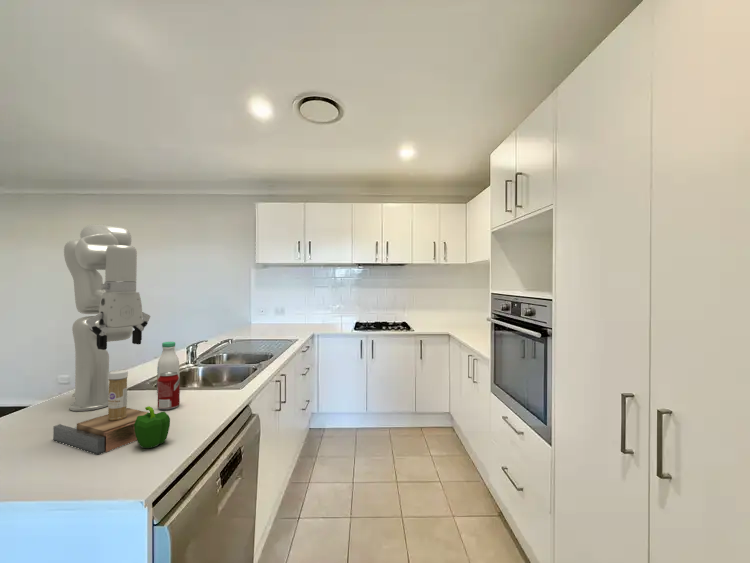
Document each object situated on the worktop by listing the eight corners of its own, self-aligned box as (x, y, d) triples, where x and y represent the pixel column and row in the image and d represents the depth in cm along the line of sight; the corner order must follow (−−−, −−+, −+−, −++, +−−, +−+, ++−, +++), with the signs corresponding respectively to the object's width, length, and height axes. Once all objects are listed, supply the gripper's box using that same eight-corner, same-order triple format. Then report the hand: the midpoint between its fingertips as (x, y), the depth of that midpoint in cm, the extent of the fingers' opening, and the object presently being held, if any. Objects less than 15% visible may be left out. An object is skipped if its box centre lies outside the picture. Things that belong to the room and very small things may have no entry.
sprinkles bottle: (104, 421, 104) (105, 373, 104) (112, 415, 108) (113, 369, 108) (122, 420, 105) (123, 372, 105) (130, 415, 109) (130, 368, 109)
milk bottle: (183, 391, 151) (184, 341, 151) (167, 396, 143) (167, 344, 143) (169, 389, 153) (169, 340, 153) (152, 394, 146) (152, 343, 146)
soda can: (169, 411, 127) (170, 376, 127) (152, 410, 128) (153, 375, 128) (183, 405, 134) (184, 371, 134) (167, 403, 135) (167, 370, 135)
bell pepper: (173, 445, 101) (173, 408, 101) (137, 454, 96) (138, 415, 96) (165, 435, 108) (166, 400, 108) (131, 443, 102) (132, 406, 102)
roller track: (53, 440, 103) (53, 422, 103) (120, 419, 120) (120, 403, 120) (98, 455, 95) (98, 435, 95) (163, 429, 111) (163, 413, 111)
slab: (76, 432, 102) (76, 423, 102) (128, 415, 115) (128, 408, 115) (103, 440, 97) (103, 431, 97) (154, 422, 110) (154, 413, 110)
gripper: (96, 288, 99) (95, 353, 99) (157, 287, 115) (156, 343, 115) (79, 287, 102) (78, 350, 103) (141, 286, 118) (140, 341, 118)
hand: (120, 346), depth 109 cm, fingers open, 9 cm apart
